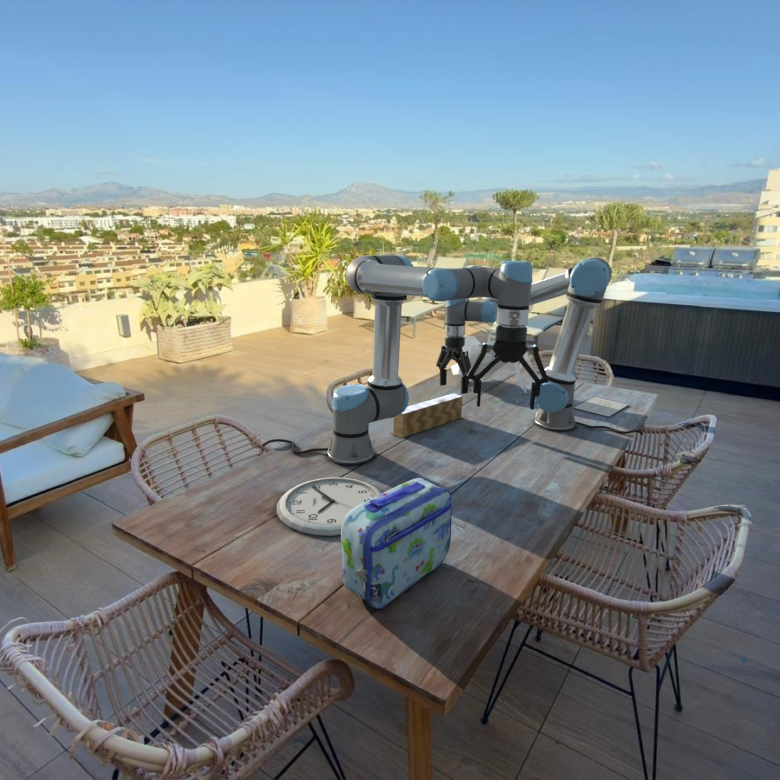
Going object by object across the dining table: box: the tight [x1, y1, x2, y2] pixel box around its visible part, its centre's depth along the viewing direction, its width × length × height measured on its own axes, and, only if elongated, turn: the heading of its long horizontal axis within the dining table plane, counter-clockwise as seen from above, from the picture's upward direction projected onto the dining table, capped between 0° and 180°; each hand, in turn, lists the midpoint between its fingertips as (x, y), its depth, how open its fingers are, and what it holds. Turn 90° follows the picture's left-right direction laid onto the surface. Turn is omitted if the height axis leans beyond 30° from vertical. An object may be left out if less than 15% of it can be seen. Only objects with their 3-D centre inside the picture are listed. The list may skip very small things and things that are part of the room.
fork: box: [437, 482, 448, 488], centre depth 145 cm, size 3×16×2 cm, turn 160°
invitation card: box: [573, 396, 629, 418], centre depth 226 cm, size 21×1×15 cm
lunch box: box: [340, 477, 452, 610], centre depth 110 cm, size 26×11×21 cm, turn 134°
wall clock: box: [276, 476, 383, 537], centre depth 142 cm, size 30×2×30 cm
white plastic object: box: [450, 335, 535, 394], centre depth 253 cm, size 37×45×31 cm
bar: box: [392, 392, 463, 438], centre depth 200 cm, size 33×5×9 cm, turn 132°
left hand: (504, 406), depth 135 cm, fingers open, 13 cm apart
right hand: (453, 389), depth 206 cm, fingers open, 13 cm apart
